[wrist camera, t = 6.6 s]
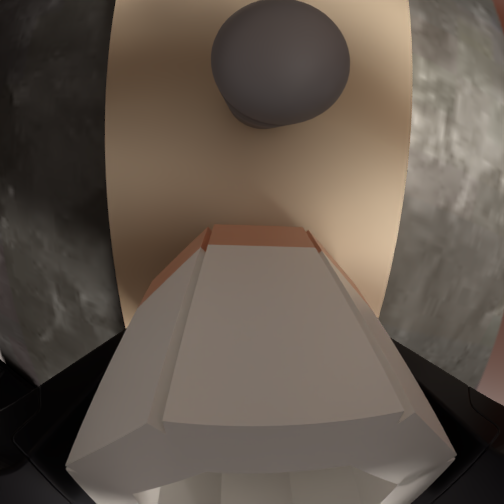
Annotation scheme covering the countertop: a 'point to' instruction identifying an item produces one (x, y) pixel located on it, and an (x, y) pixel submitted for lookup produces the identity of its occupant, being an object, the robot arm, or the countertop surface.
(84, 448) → the sleeve
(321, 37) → the pin board
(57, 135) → the countertop surface
